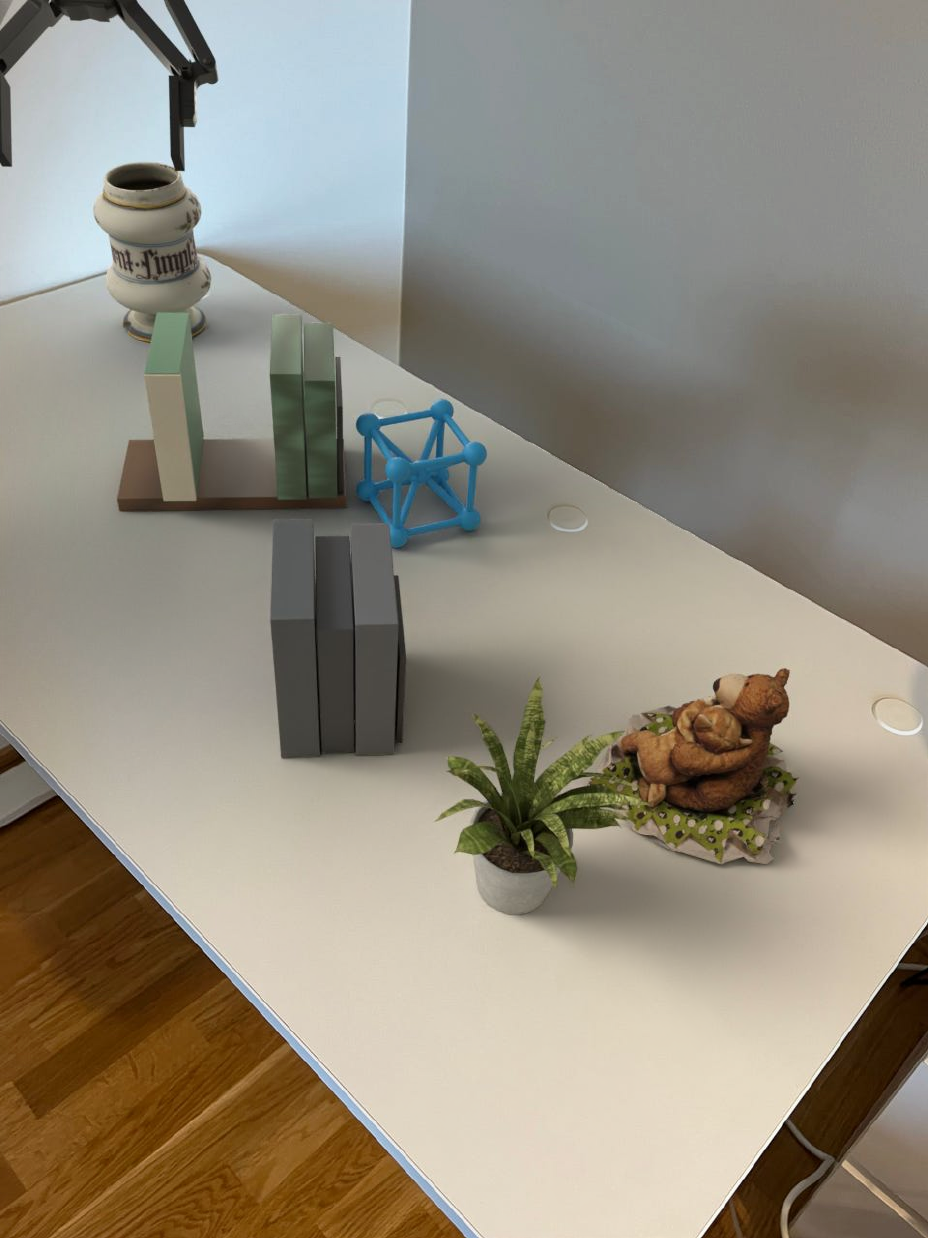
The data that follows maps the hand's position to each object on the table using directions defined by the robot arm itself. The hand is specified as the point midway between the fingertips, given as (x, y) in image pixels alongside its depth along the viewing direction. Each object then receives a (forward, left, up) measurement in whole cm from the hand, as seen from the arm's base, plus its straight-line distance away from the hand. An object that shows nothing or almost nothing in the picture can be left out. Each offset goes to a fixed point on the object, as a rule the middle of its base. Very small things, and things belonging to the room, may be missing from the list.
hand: (90, 161), depth 86 cm
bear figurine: (+46, -41, -32) cm, 69 cm away
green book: (+4, 0, -30) cm, 30 cm away
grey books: (+19, -31, -32) cm, 48 cm away
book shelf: (+9, 0, -32) cm, 33 cm away
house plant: (+30, -50, -32) cm, 66 cm away
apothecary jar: (-1, +32, -32) cm, 45 cm away
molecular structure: (+27, -6, -32) cm, 42 cm away
